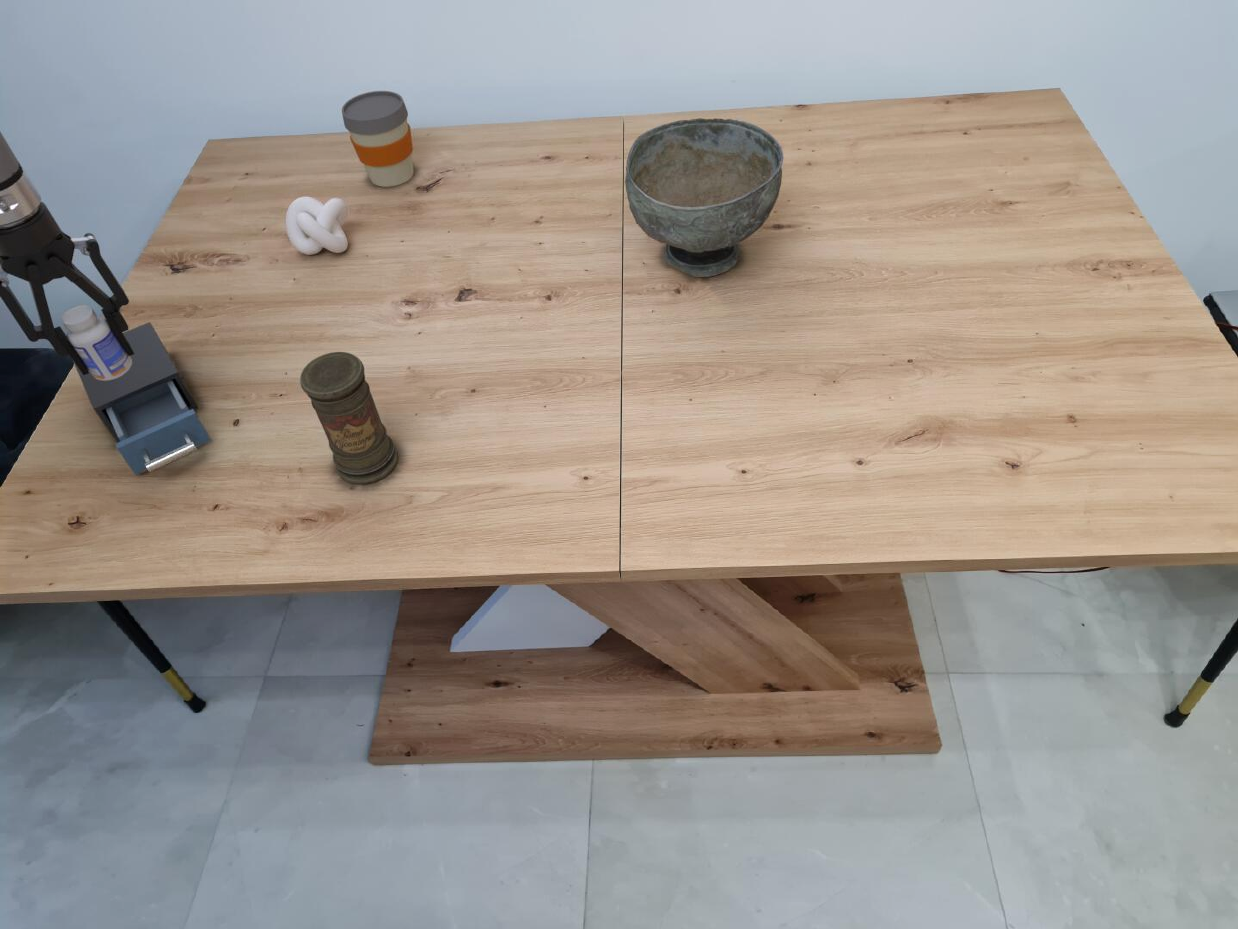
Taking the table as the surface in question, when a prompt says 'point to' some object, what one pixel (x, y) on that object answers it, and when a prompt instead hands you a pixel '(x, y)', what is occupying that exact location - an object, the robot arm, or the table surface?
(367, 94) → the reusable coffee cup
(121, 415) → the drawer
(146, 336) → the small cabinet
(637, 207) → the decorative bowl
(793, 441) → the table surface
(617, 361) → the table surface
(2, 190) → the robot arm
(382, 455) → the container
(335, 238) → the white knot sculpture
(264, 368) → the table surface
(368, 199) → the table surface
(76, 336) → the pill bottle
